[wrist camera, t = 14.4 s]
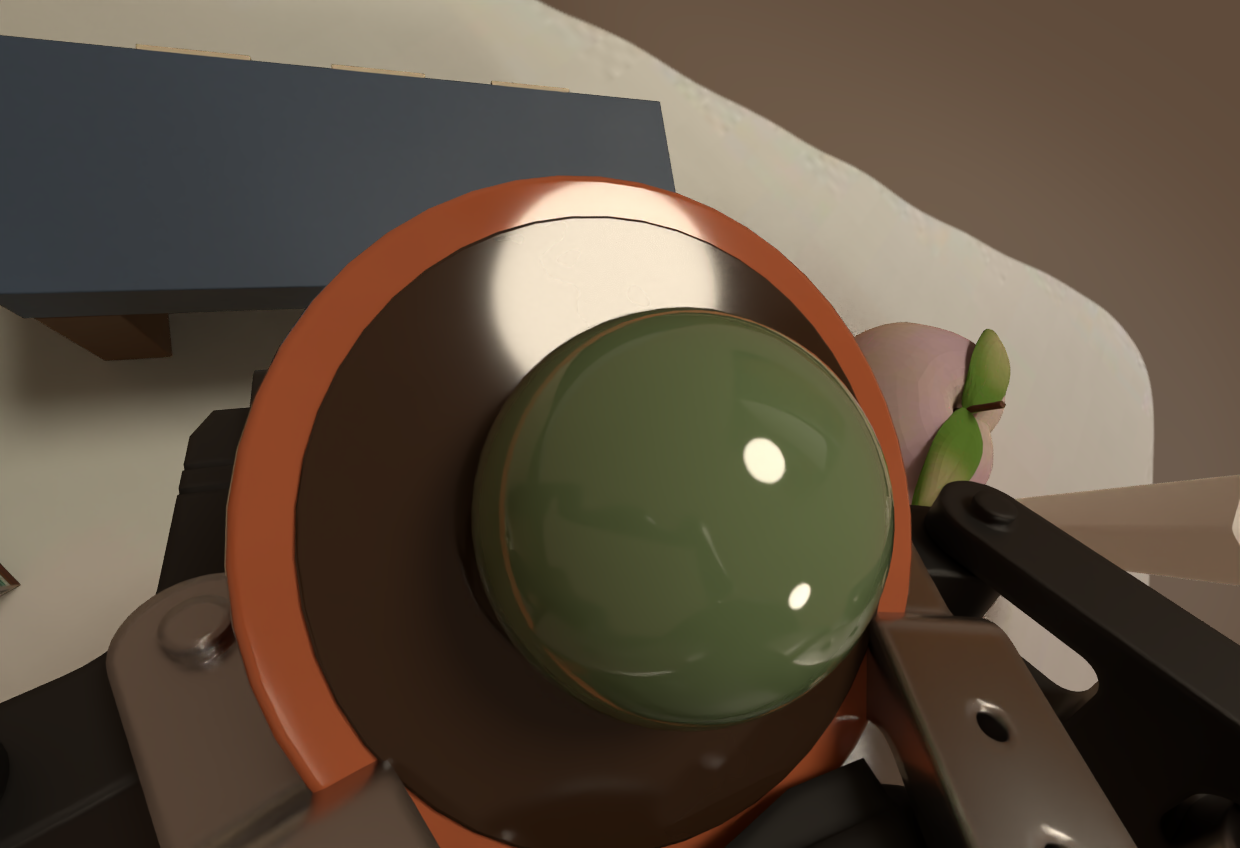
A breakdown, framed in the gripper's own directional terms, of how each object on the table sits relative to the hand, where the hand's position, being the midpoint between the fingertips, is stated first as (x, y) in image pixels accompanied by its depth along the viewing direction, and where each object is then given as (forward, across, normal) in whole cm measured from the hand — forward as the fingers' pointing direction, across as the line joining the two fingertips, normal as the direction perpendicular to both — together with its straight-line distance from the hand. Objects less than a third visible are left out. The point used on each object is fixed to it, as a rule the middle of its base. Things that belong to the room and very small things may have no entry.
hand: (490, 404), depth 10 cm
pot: (+2, 0, +5) cm, 5 cm away
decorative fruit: (+11, -20, +12) cm, 26 cm away
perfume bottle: (+6, -31, +17) cm, 36 cm away
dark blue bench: (+18, 0, +5) cm, 19 cm away
